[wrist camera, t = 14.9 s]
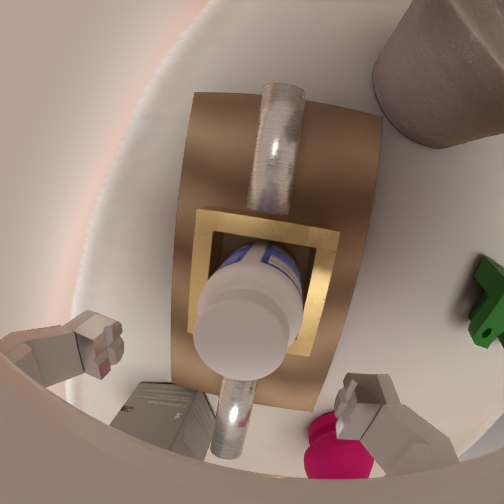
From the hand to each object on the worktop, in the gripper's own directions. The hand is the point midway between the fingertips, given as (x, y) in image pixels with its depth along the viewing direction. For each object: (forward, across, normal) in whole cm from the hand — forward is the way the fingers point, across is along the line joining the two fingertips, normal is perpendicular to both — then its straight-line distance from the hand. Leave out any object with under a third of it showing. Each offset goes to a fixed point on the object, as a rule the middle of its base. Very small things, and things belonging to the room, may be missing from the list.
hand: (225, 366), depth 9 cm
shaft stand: (+13, 0, +1) cm, 13 cm away
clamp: (+14, -24, 0) cm, 28 cm away
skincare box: (+13, +7, +19) cm, 24 cm away
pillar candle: (+14, -11, -16) cm, 24 cm away
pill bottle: (+12, 0, +1) cm, 12 cm away
